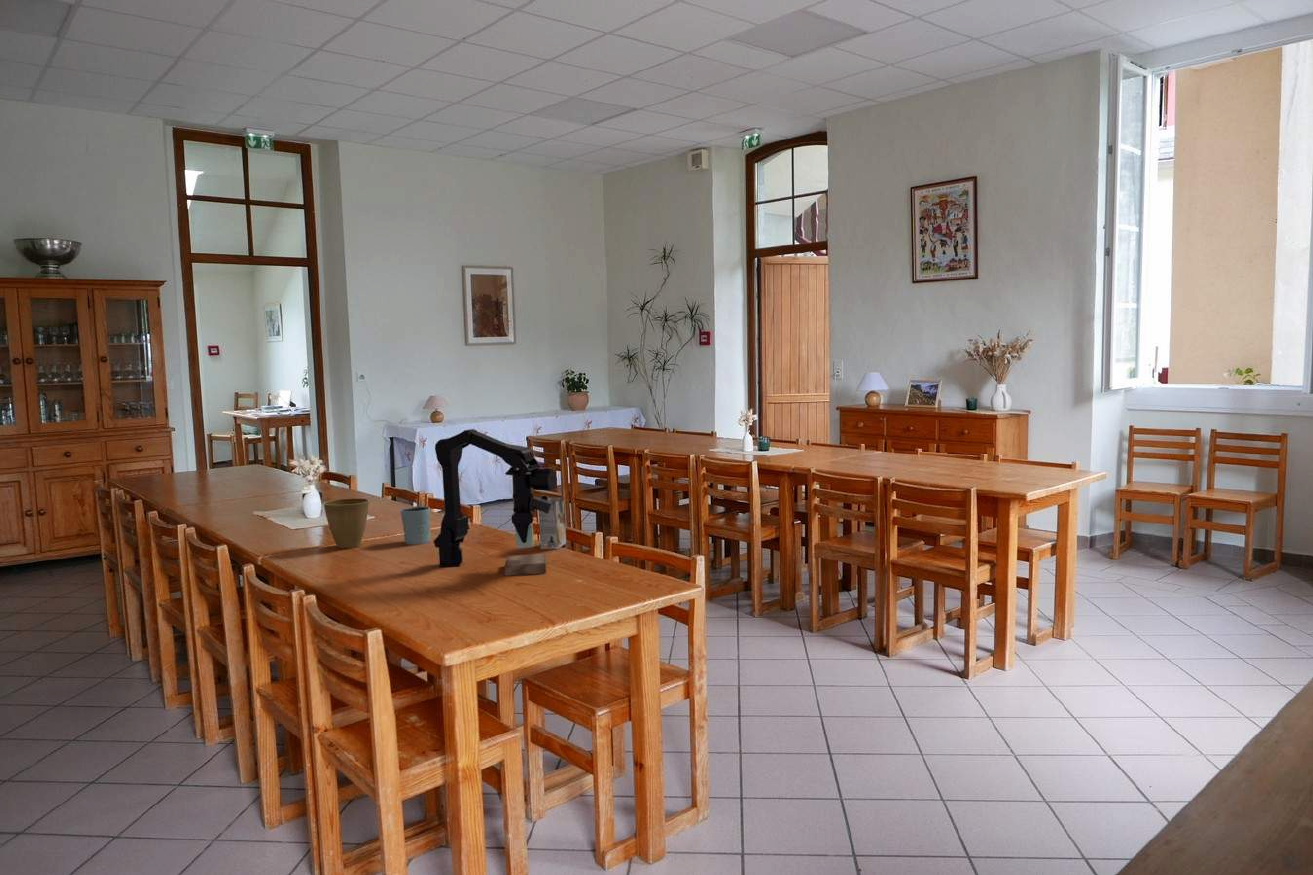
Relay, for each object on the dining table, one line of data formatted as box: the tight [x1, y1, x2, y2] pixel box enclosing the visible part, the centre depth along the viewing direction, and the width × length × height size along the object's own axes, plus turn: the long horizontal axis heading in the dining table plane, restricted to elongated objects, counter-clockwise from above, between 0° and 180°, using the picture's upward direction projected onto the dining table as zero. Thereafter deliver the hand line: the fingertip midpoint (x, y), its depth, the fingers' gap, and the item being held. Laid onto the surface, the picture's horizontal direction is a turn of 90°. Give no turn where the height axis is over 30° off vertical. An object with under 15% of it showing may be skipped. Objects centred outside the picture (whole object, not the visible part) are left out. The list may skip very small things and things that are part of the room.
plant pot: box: [323, 497, 370, 549], centre depth 305 cm, size 15×15×16 cm
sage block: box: [514, 523, 534, 549], centre depth 264 cm, size 5×5×6 cm
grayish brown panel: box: [504, 553, 548, 576], centre depth 265 cm, size 12×12×3 cm
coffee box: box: [538, 496, 567, 550], centre depth 295 cm, size 9×6×16 cm
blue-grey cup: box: [400, 506, 431, 546], centre depth 309 cm, size 10×10×12 cm
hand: (524, 540), depth 264 cm, fingers closed on sage block, 5 cm apart
